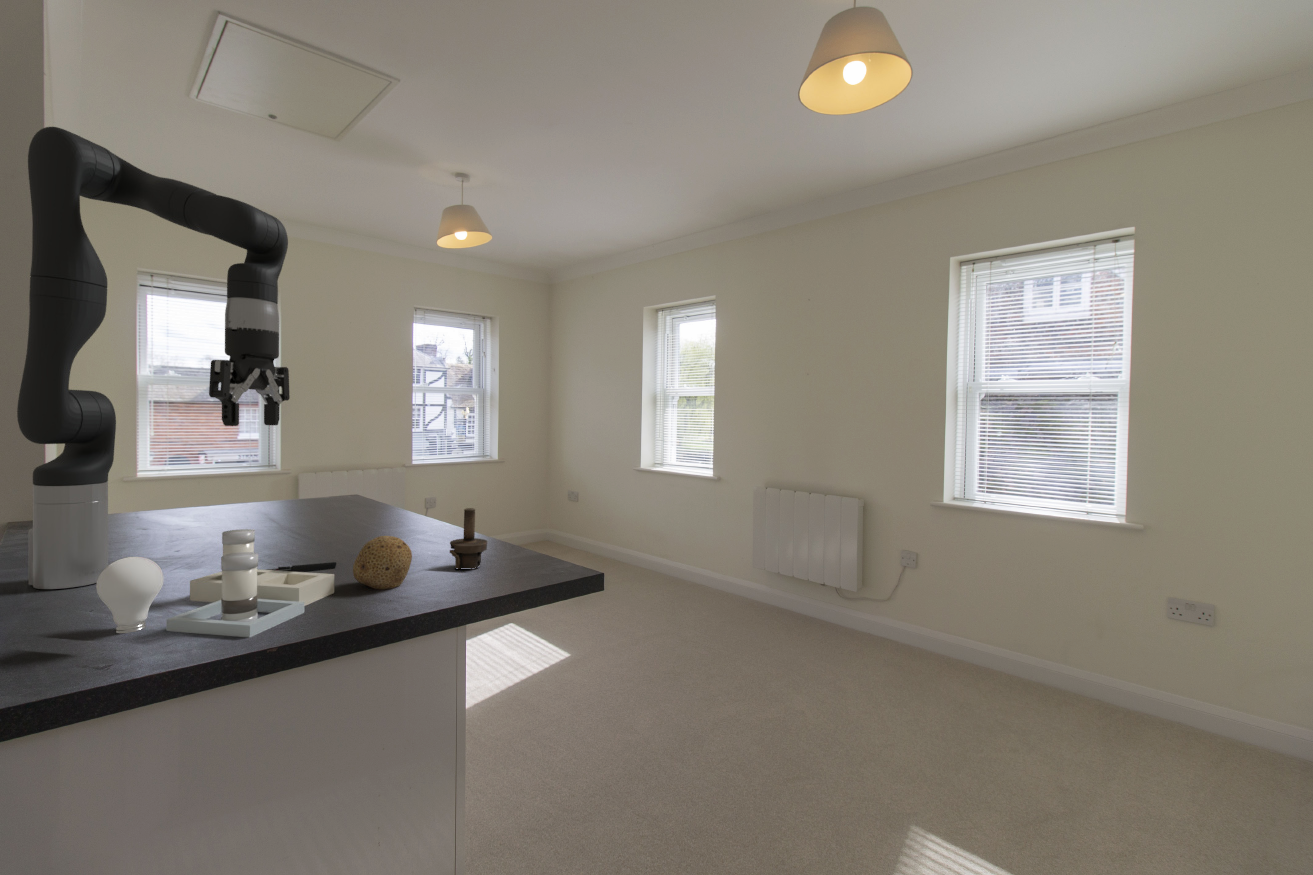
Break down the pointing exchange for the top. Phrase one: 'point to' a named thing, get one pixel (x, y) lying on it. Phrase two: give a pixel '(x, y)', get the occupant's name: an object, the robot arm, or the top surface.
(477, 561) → the industrial component
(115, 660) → the top surface
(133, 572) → the light bulb
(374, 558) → the natural sponge
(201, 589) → the cream divided tray
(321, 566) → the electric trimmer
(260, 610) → the tray
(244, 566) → the cream and grey canister
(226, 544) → the fuse
